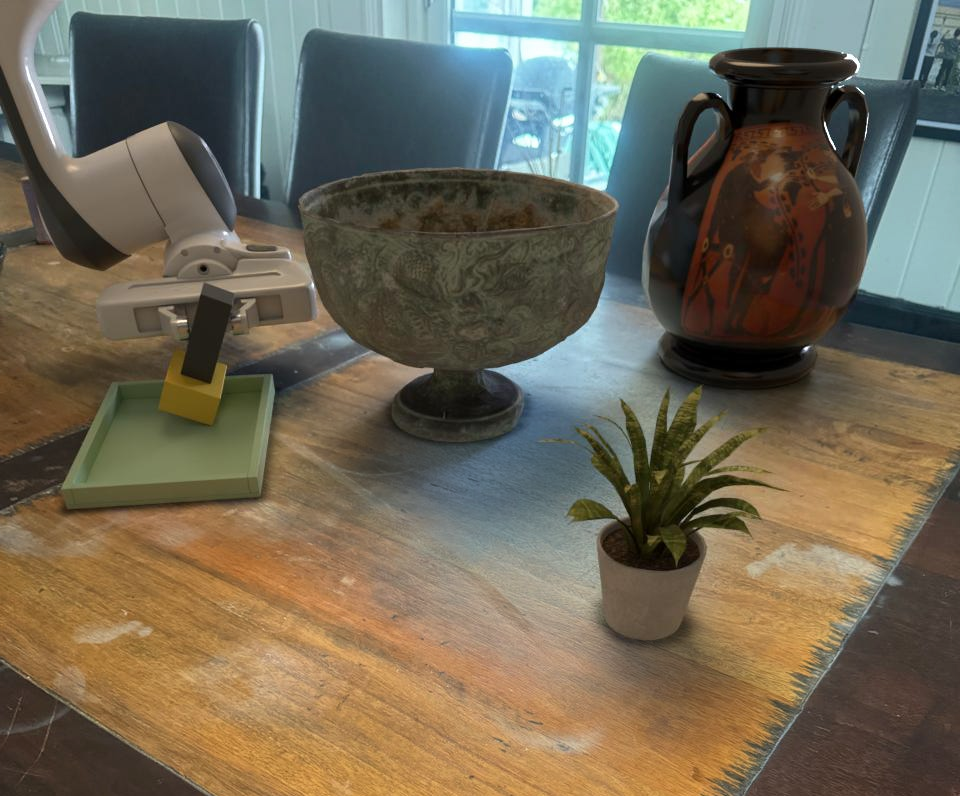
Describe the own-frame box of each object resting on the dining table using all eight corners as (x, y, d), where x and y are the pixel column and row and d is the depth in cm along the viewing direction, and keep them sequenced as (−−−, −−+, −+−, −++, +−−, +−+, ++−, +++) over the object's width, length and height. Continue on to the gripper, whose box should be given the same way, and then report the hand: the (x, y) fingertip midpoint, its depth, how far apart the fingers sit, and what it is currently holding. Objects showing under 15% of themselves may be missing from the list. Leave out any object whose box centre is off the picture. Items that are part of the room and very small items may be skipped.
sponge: (157, 409, 86) (184, 298, 80) (167, 374, 91) (194, 268, 85) (212, 426, 88) (243, 319, 82) (219, 391, 93) (248, 288, 87)
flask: (42, 246, 137) (19, 165, 130) (33, 242, 138) (10, 162, 132) (102, 234, 142) (82, 155, 135) (92, 230, 144) (73, 152, 137)
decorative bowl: (264, 440, 86) (237, 204, 73) (388, 347, 105) (383, 147, 92) (539, 502, 78) (561, 252, 66) (619, 390, 97) (647, 180, 85)
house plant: (587, 722, 57) (607, 480, 47) (493, 599, 67) (492, 378, 57) (781, 660, 61) (838, 427, 51) (665, 554, 71) (693, 341, 61)
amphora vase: (778, 319, 110) (830, 37, 93) (882, 392, 94) (969, 65, 77) (604, 337, 106) (625, 45, 89) (680, 416, 90) (724, 77, 73)
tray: (67, 511, 77) (60, 489, 76) (117, 402, 94) (111, 382, 93) (260, 499, 78) (256, 476, 77) (275, 393, 95) (272, 373, 94)
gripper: (92, 262, 92) (79, 304, 81) (303, 245, 95) (318, 282, 85) (108, 327, 95) (99, 376, 84) (311, 308, 99) (326, 352, 88)
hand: (210, 329), depth 85 cm, fingers closed on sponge, 4 cm apart
